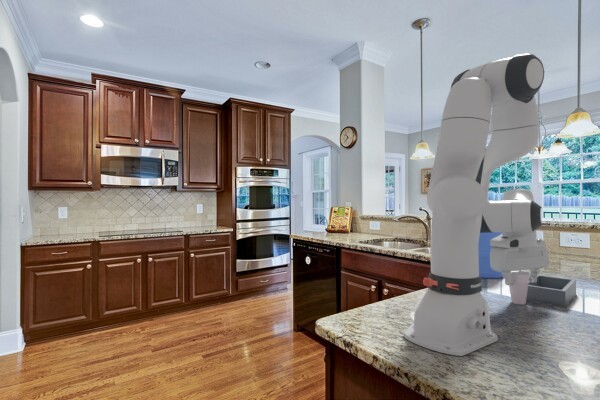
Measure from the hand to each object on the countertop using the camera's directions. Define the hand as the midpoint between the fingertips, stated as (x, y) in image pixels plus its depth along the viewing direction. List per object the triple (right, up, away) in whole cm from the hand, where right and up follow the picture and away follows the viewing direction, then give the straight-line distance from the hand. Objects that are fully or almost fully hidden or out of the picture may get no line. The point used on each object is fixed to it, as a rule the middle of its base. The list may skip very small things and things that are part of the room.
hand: (521, 283), depth 99 cm
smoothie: (-1, -6, 0) cm, 6 cm away
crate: (+14, -6, +6) cm, 16 cm away
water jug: (+11, -7, +39) cm, 41 cm away
